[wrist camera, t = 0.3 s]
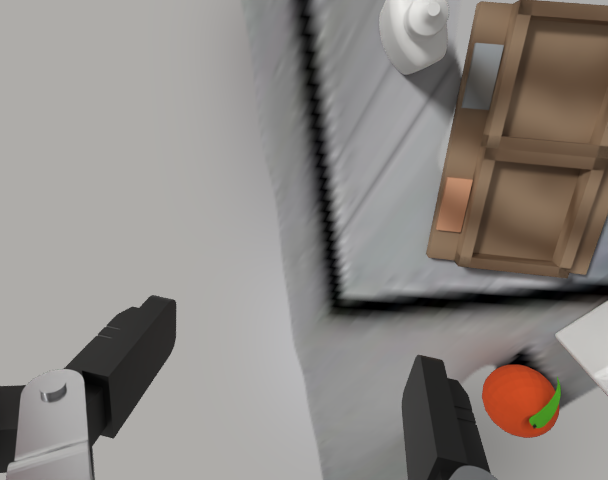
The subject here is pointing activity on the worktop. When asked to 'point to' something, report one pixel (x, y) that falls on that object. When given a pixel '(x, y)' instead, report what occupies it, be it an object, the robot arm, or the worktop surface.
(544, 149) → the wooden compartment tray
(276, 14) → the worktop surface
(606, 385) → the medicine bottle
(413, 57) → the eye dropper bottle
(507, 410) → the clementine
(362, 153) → the worktop surface
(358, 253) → the worktop surface
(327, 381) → the worktop surface
